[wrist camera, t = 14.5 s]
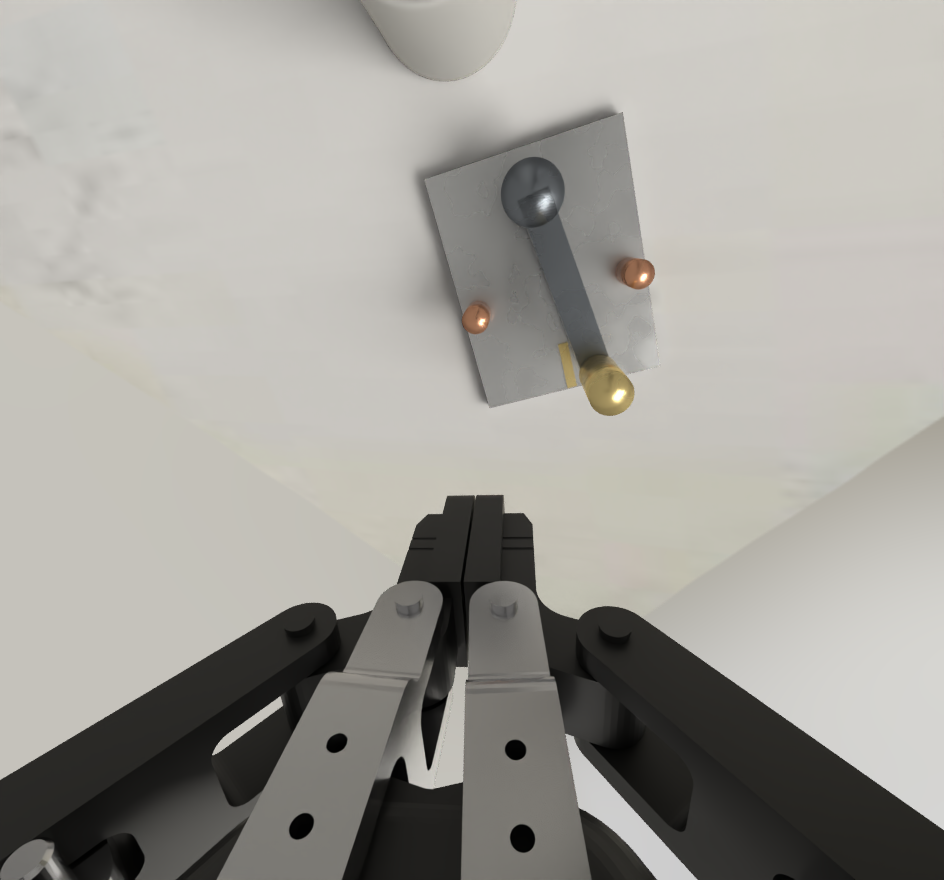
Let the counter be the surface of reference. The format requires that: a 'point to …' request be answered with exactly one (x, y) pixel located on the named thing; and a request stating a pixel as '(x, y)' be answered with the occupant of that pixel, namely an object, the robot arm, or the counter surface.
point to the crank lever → (564, 278)
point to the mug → (443, 33)
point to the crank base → (520, 274)
